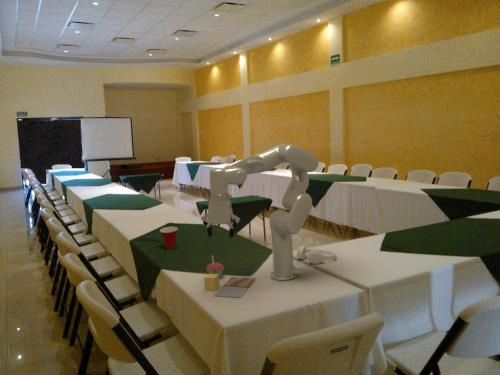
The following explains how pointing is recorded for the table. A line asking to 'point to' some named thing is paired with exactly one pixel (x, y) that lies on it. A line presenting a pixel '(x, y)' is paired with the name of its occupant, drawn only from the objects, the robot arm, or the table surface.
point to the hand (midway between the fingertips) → (220, 236)
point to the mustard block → (211, 282)
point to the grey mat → (231, 292)
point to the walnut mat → (240, 282)
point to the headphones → (315, 255)
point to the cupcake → (215, 268)
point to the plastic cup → (169, 236)
